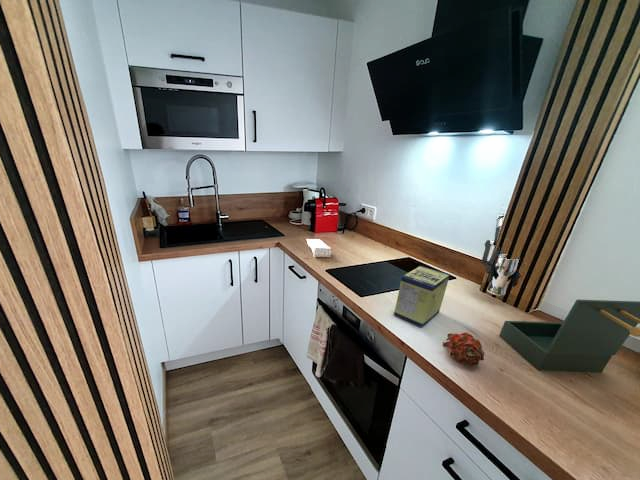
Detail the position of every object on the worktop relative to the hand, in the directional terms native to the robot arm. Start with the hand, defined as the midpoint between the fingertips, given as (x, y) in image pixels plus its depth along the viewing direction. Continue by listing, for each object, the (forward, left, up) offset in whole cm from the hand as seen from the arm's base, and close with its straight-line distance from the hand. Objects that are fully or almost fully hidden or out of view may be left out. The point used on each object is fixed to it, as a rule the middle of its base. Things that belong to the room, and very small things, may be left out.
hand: (502, 283), depth 107 cm
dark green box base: (-9, +26, -10) cm, 30 cm away
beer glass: (0, -4, -6) cm, 7 cm away
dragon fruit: (+15, +41, -10) cm, 45 cm away
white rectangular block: (+82, -28, -10) cm, 87 cm away
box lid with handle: (-12, +34, +5) cm, 36 cm away
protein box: (+27, +21, -10) cm, 36 cm away
